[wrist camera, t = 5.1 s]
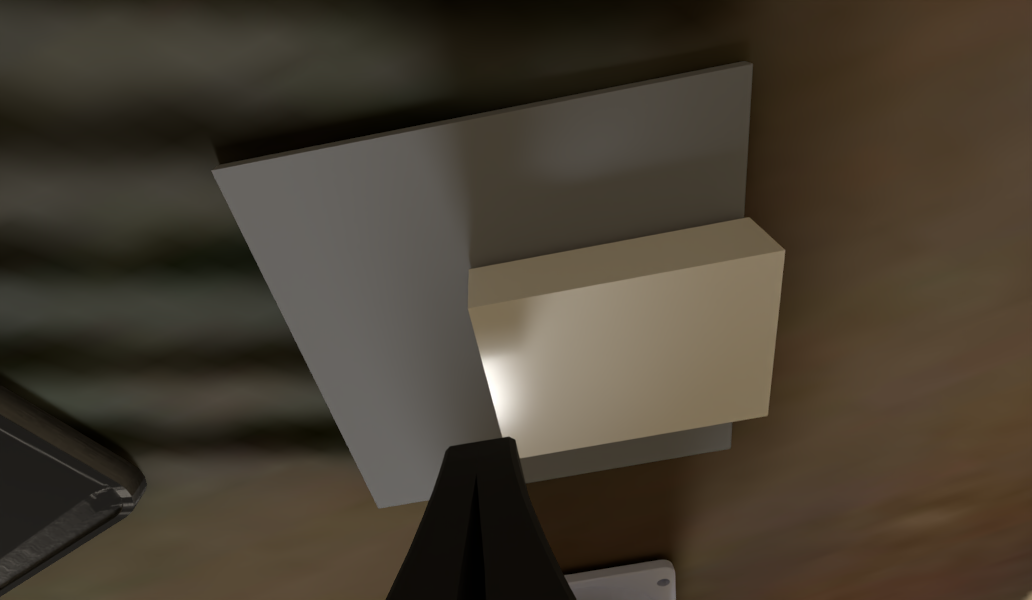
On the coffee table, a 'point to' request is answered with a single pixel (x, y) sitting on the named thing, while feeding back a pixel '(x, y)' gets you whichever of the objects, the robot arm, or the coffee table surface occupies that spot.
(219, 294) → the coffee table surface
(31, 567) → the phone
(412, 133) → the mat
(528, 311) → the tile
